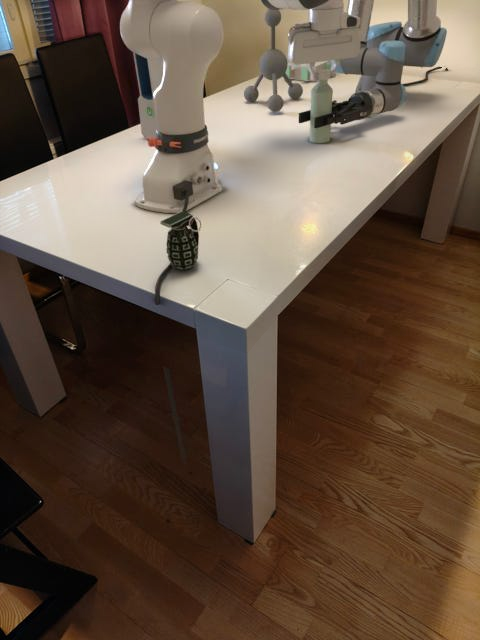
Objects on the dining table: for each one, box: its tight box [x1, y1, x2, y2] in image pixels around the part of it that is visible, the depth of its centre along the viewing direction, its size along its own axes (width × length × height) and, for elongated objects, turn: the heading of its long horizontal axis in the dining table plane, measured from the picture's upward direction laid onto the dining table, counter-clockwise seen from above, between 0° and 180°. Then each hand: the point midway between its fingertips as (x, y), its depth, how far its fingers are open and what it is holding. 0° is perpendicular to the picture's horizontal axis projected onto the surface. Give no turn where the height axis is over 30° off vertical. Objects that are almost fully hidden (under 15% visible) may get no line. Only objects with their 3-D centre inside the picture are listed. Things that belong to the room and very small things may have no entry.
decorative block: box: [285, 60, 331, 82], centre depth 209 cm, size 26×6×20 cm
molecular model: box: [243, 8, 304, 113], centre depth 169 cm, size 24×22×30 cm
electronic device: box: [132, 52, 164, 140], centre depth 143 cm, size 12×8×30 cm, turn 47°
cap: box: [315, 69, 331, 80], centre depth 134 cm, size 4×4×2 cm
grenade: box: [159, 211, 202, 271], centre depth 88 cm, size 7×6×10 cm
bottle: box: [309, 79, 334, 144], centre depth 139 cm, size 6×6×18 cm
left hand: (322, 79), depth 134 cm, fingers closed on cap, 4 cm apart
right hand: (307, 120), depth 138 cm, fingers closed on bottle, 6 cm apart
